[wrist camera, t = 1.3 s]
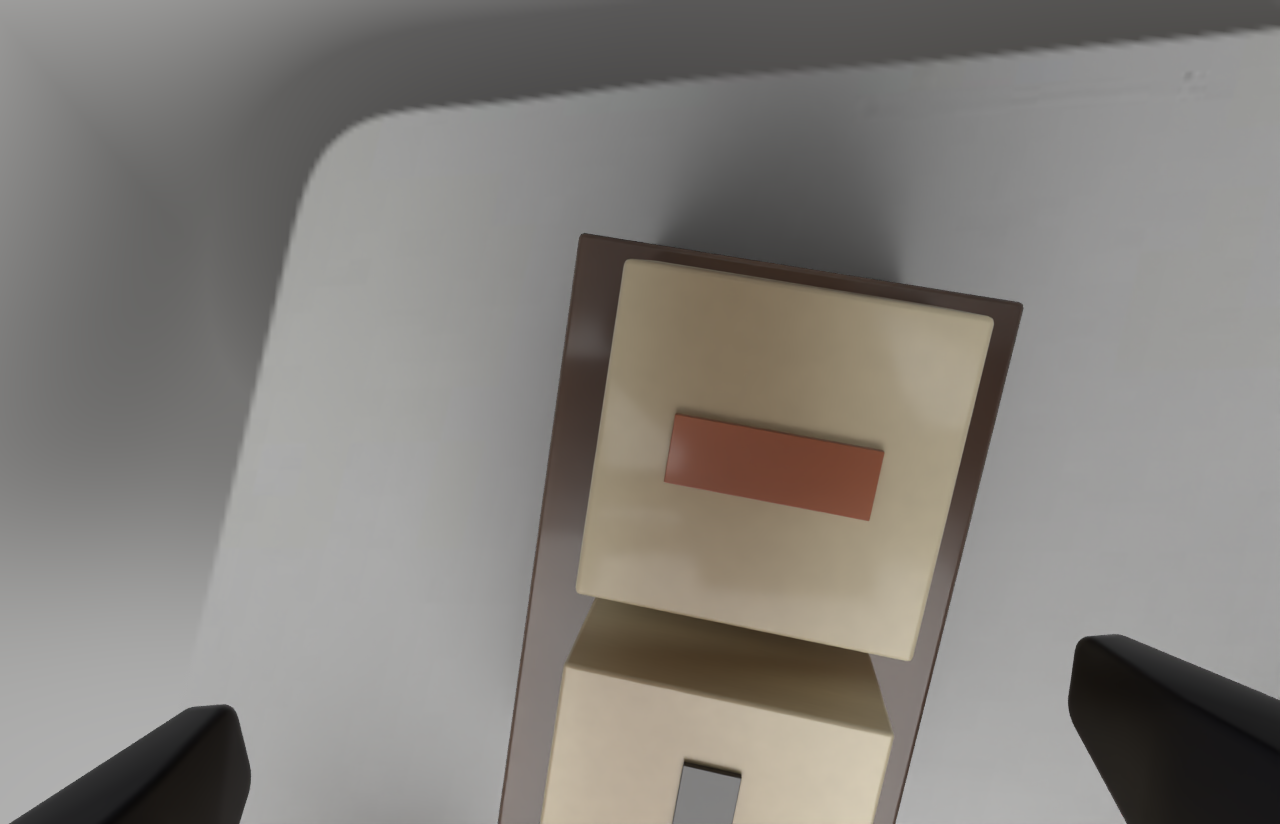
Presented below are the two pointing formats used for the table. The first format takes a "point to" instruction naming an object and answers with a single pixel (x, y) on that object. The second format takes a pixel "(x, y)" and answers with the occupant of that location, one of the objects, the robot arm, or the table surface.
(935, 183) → the table surface
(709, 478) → the beige block with stripe
